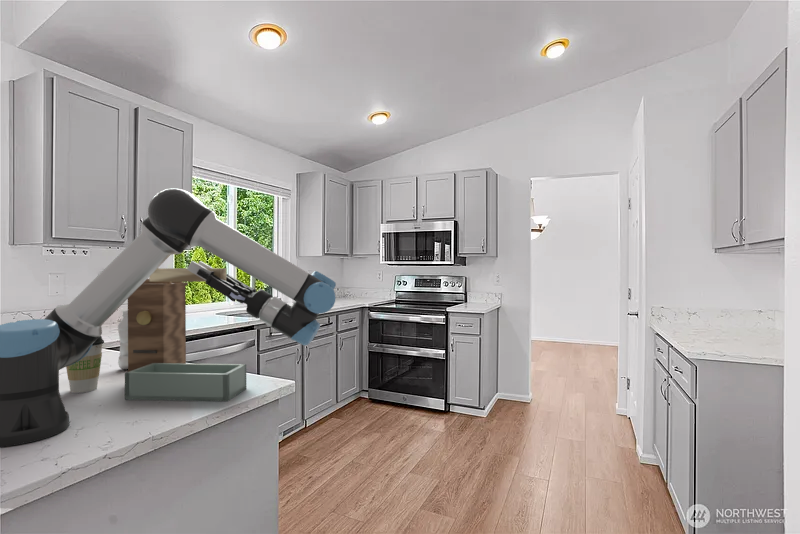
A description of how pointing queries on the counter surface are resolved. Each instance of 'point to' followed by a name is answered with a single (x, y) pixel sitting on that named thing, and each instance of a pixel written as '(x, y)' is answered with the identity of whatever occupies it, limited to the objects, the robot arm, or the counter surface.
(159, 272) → the bar
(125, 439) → the counter surface
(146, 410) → the counter surface
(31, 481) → the counter surface
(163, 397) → the tray
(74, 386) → the coffee cup
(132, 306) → the brown wooden box
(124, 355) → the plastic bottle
